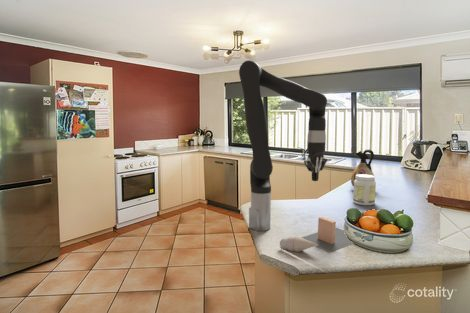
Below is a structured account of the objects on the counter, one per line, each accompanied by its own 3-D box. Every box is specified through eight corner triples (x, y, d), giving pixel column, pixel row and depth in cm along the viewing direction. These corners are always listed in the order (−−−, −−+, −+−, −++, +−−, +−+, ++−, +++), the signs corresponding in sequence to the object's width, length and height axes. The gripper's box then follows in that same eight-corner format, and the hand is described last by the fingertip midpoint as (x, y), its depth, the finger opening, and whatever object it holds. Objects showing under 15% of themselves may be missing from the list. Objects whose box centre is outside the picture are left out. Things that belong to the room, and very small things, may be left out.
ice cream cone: (319, 256, 107) (281, 254, 115) (321, 241, 111) (284, 240, 119) (315, 248, 104) (276, 246, 111) (317, 232, 108) (279, 232, 115)
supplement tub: (370, 200, 183) (372, 174, 181) (377, 206, 171) (379, 177, 169) (350, 200, 184) (351, 173, 182) (356, 205, 172) (357, 177, 170)
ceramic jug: (348, 191, 207) (350, 149, 203) (353, 187, 219) (355, 147, 216) (374, 195, 197) (377, 150, 193) (378, 190, 210) (380, 149, 206)
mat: (329, 254, 110) (329, 252, 109) (298, 239, 123) (298, 238, 123) (366, 239, 123) (366, 238, 123) (334, 228, 136) (334, 227, 136)
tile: (331, 244, 117) (332, 222, 116) (317, 238, 123) (318, 217, 122) (334, 242, 118) (335, 221, 117) (321, 237, 124) (321, 216, 123)
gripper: (313, 142, 118) (311, 184, 121) (333, 141, 126) (331, 180, 128) (299, 141, 125) (298, 181, 127) (319, 140, 132) (318, 177, 134)
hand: (315, 180), depth 127 cm, fingers closed
